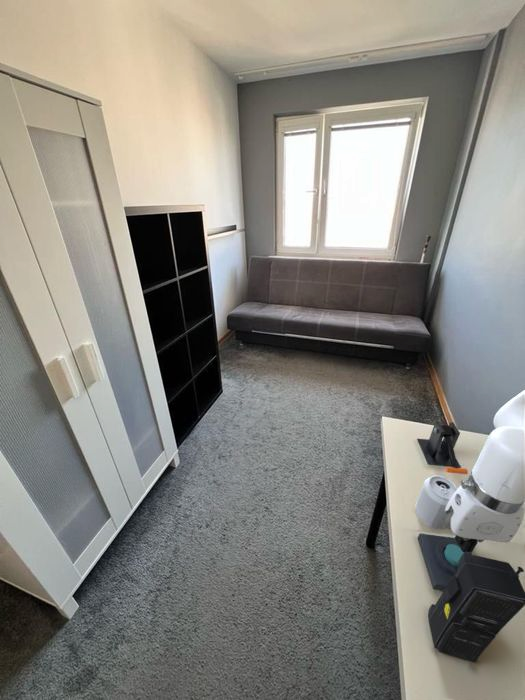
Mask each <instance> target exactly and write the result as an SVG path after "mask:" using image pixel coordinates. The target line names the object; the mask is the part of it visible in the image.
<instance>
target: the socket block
mask: <svg viewBox="0 0 525 700" xmlns="http://www.w3.org/2000/svg"><path fill="white" fill-rule="evenodd" d="M417 541H418V545H419V548H420V551H421V552H420V553H421V555H422V557H423V561H424V564H425V568H426V571H427V573H428V577H429V580H430V583H431V587H432V589H433V590H435V591H436V590H437V591H442V590H443V589H444V588H445V587H446V586H447V584H448V583H449V582H450V581H451V579H452V578H453V576H454V575H455V573H456V572H457V570H458V567H456V566H453V565H452V564H450V563H449V562H448V561H447V559H446V558H445V555H444V550H445V549H446V547H447V545H449V544H454V545H457V546H458V547H460V545H458V544H457V542H456V539H455V537H451V536H443V535H435V534H428V533H419V534H418V535H417ZM464 553H467V554H471V555H473V552H472V553H469V552H467V551H466V552H464Z"/></svg>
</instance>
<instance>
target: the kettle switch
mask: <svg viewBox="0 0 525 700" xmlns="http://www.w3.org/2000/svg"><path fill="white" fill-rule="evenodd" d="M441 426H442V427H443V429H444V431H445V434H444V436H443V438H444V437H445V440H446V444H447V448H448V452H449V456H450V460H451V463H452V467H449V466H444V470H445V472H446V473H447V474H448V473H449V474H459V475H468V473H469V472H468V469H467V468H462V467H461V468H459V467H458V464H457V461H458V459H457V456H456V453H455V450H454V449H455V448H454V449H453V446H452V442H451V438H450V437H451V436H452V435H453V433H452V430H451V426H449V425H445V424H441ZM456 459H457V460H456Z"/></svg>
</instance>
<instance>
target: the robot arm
mask: <svg viewBox="0 0 525 700" xmlns="http://www.w3.org/2000/svg"><path fill="white" fill-rule="evenodd" d="M493 426H494V429H493V430H492V431H491V432H490V433H489V436H488V437H487V439H486V440H485V443H484V445H483V448H482V449H481V451H480V453H479V455H478V457H477V460H476V462H475V464H474V466H473V468H472V470H471V473H470V474H469V476H468V478H467V480H466V479H465V480H461V481H460V485H459V486H458V487H457V488H458V489H457V490H456V491H455V493H454V494H453V495H452V497H451V498H450V500H449V502H448V504H447V506H446V509H445V514H447V516H446V517H445V518H444V519H443V520H442V522H443V525H444V527H445V528H444V529H447V530H451V531H452V533H453V534H454V535H455V536H454V538H455V539H456V542H457V544H458V545H460V548H461V550H462V552H466V551H467V552H469V553H472V554H473V551H474V550H475V548H476V547H477V545H478V543H483V542H484V541H488V542H498V543H506V542H510V541H512V540H513V539H514V537H515V536H516V534H517V532H518V531H519V529H520V527H521V526H522V525H521V524H522V523H523V520H524V516H525V389H524V390H523V391H521V392H520V393H518V394H517V395H516V396H514V397H512V398H511V399H510V400H509V401H507V402H506V403H505V404H504V405H503V406H501V407H500V408H499V409H498V410H497V411H496V413H495V415H494V418H493Z"/></svg>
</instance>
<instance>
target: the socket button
mask: <svg viewBox="0 0 525 700" xmlns="http://www.w3.org/2000/svg"><path fill="white" fill-rule="evenodd" d="M463 553H464V552H462V550H461V548H460V547H458V546H457V545H454V544H449V545H447V547H446V549H445V550H444V555H445V558H446V559H447V561H448V562H449V563H450V564H452V565H453V566H456V567H458V561H459V559H460V558H461V556H462V554H463Z"/></svg>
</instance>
